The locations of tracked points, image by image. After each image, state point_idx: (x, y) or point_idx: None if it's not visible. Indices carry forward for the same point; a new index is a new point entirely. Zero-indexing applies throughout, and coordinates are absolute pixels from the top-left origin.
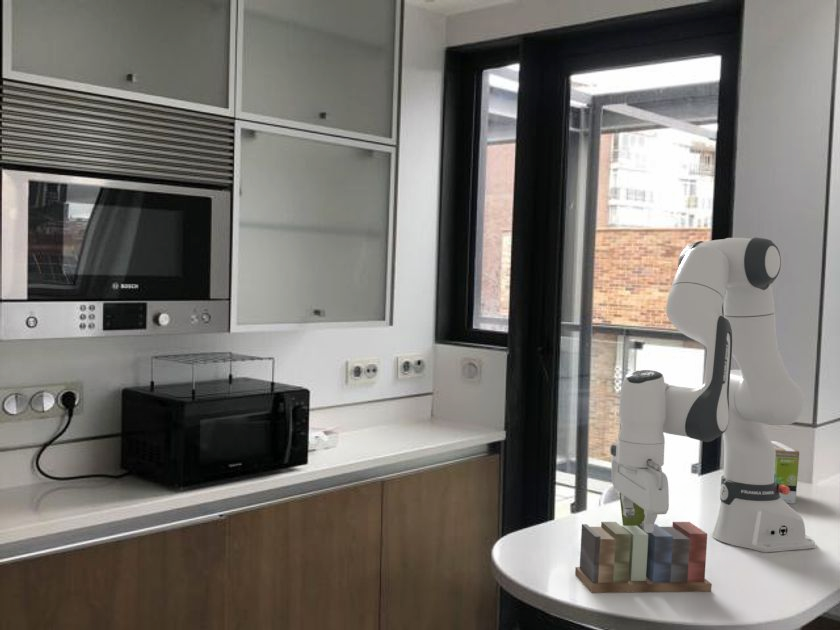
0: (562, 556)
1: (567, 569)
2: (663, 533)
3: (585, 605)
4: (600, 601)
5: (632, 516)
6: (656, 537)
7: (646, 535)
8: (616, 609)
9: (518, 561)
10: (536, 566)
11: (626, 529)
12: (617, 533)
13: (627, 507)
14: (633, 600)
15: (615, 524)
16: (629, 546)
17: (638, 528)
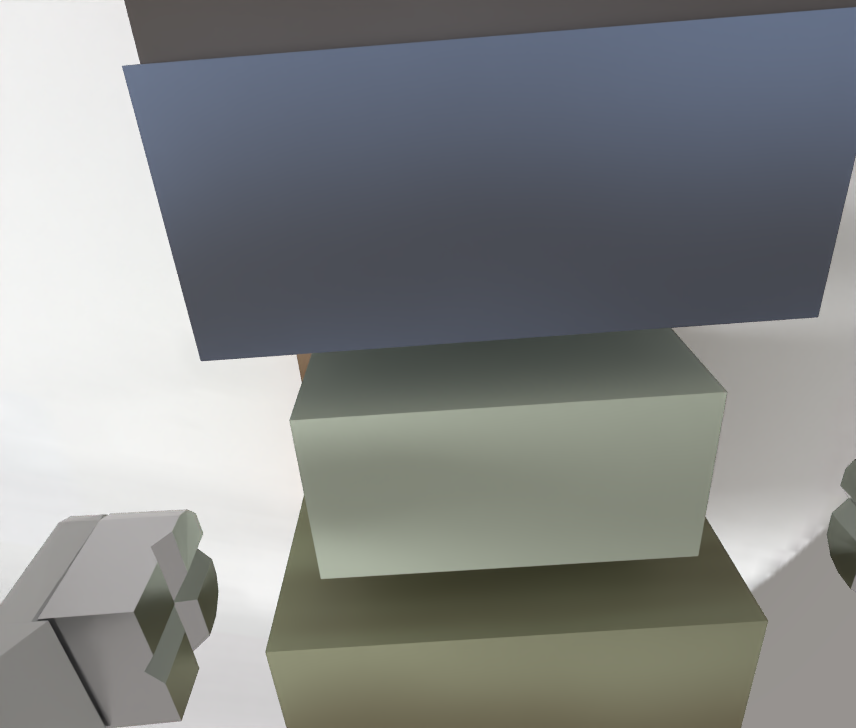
0: (41, 536)
1: (264, 550)
2: (690, 128)
3: (759, 568)
4: (726, 502)
5: (188, 535)
6: (812, 297)
7: (716, 409)
8: (843, 458)
9: (190, 709)
10: (246, 659)
11: (467, 568)
12: (722, 721)
13: (80, 709)
14: (747, 342)
15: (384, 675)
16: (706, 522)
17: (429, 434)
